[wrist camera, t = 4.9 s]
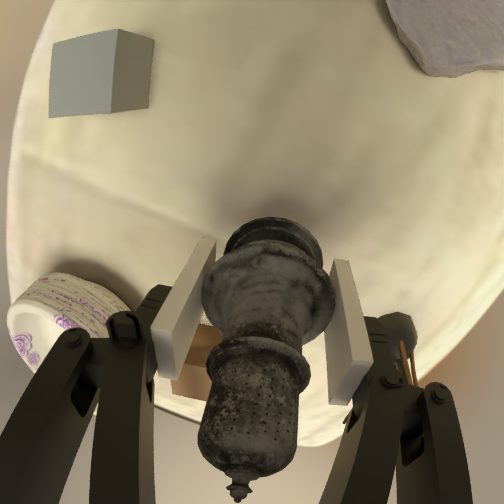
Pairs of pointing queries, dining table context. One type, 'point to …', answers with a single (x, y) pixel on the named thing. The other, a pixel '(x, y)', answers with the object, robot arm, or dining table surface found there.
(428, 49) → the stone block
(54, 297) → the paper bowls
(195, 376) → the walnut cube
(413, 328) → the wooden tabletop sculpture
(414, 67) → the dining table surface
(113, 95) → the slate cube
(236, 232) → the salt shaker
